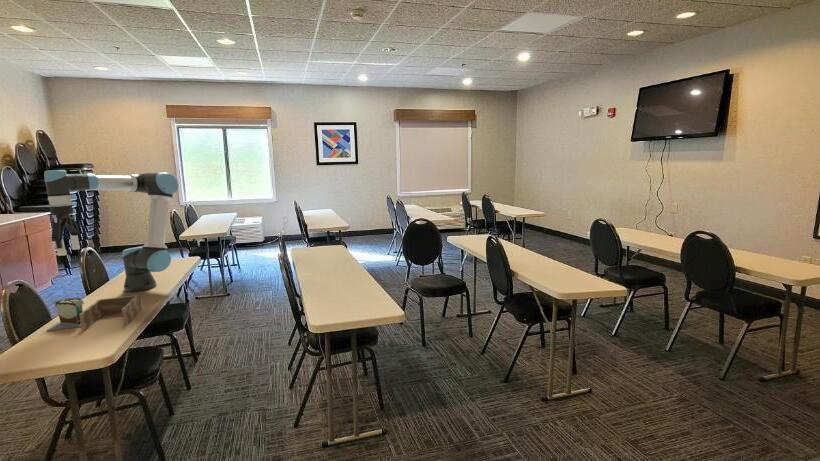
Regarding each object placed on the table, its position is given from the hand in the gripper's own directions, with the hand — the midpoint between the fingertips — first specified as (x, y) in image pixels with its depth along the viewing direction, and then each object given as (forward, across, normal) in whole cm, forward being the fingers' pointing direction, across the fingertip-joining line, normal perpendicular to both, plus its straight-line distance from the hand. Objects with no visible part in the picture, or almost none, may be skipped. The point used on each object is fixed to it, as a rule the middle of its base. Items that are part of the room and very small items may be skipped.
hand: (69, 252), depth 184 cm
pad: (+30, +13, +2) cm, 32 cm away
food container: (+29, +10, +2) cm, 31 cm away
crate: (+30, +12, +17) cm, 36 cm away
